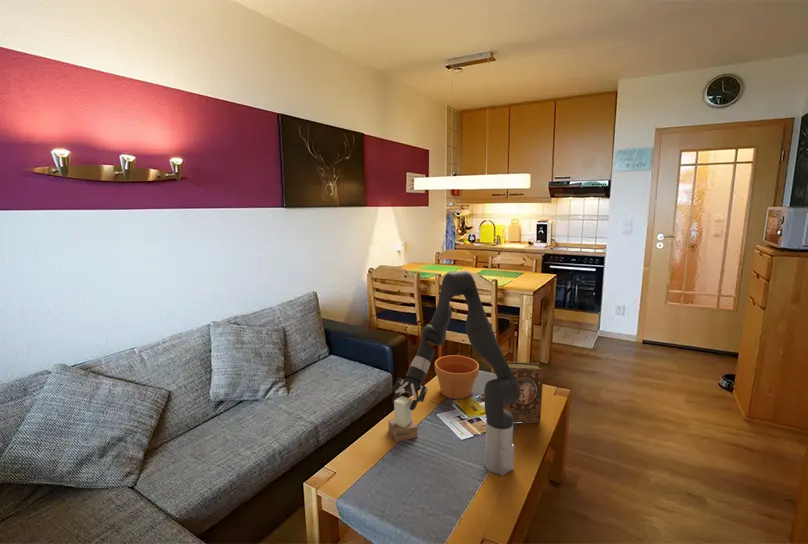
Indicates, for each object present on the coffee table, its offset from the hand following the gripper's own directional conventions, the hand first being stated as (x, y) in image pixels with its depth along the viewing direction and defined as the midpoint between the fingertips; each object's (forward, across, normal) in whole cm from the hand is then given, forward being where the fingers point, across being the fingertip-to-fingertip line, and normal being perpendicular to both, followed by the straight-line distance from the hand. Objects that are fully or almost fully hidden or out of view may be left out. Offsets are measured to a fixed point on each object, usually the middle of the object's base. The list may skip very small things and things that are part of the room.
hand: (402, 406), depth 163 cm
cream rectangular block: (+5, 0, +6) cm, 8 cm away
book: (-18, +34, +35) cm, 52 cm away
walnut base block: (+9, 0, +9) cm, 12 cm away
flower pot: (-22, 0, +39) cm, 45 cm away
